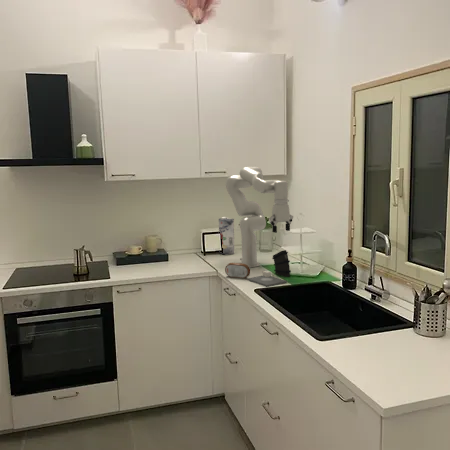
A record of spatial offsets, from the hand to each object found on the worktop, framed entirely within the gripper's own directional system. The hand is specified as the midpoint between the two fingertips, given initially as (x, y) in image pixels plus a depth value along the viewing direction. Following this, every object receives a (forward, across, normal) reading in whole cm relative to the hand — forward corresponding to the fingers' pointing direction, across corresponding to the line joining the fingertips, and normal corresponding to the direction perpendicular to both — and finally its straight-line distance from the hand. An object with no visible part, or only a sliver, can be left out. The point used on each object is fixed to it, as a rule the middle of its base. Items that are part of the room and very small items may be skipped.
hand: (281, 231), depth 275 cm
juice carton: (+26, -8, -72) cm, 77 cm away
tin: (+26, +24, -10) cm, 37 cm away
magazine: (+26, 0, 0) cm, 26 cm away
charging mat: (+26, +16, +7) cm, 31 cm away
